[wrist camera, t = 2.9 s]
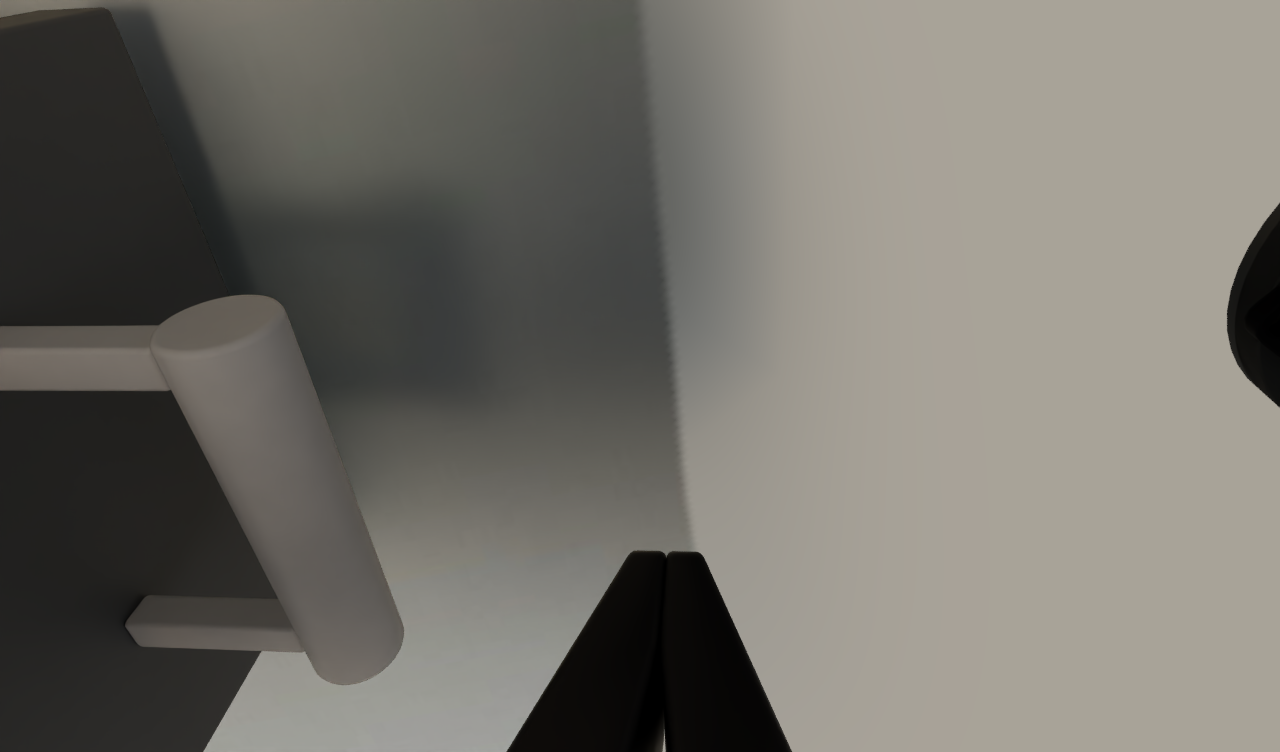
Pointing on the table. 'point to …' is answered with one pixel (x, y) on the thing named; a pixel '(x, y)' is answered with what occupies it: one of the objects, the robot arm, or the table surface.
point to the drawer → (148, 435)
